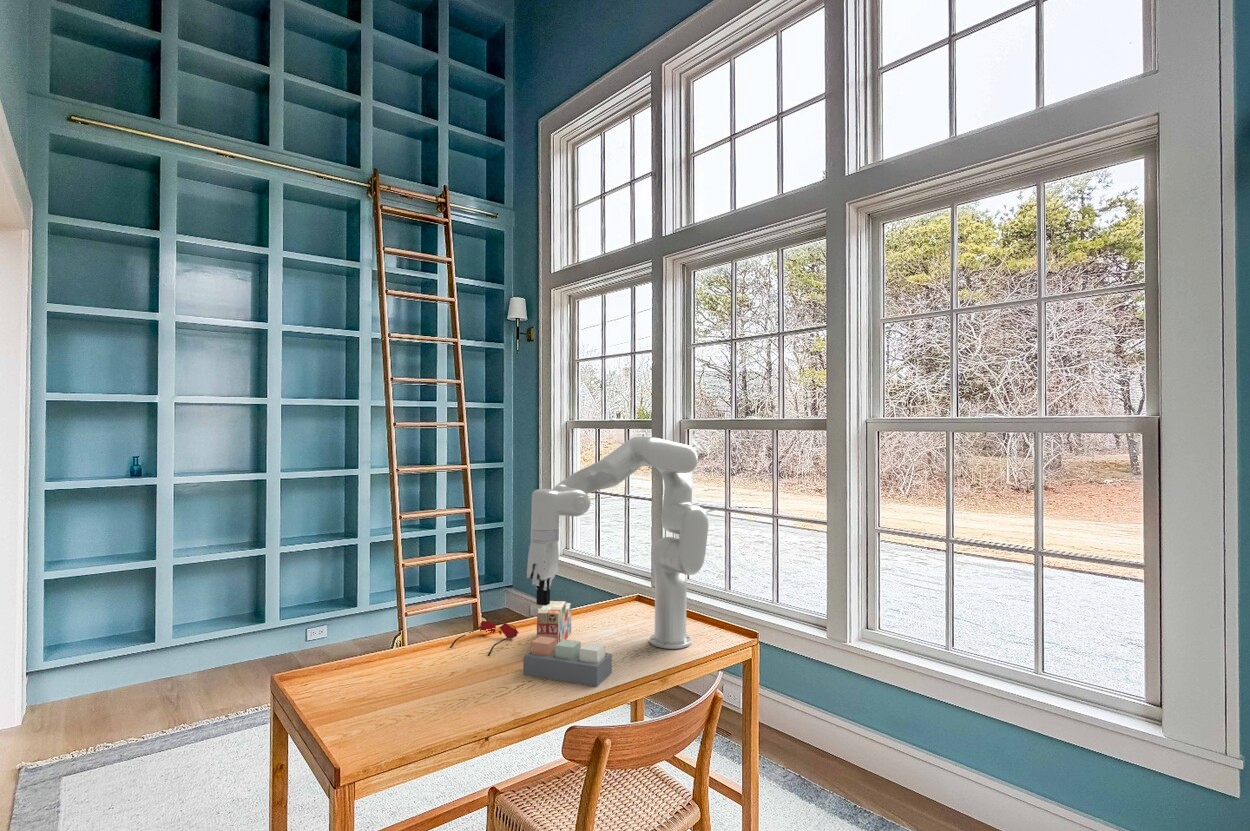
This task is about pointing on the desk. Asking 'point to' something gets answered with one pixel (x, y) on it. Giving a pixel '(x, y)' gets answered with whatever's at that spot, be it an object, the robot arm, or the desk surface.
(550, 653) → the terracotta button
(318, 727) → the desk surface
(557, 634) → the stack of blocks
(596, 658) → the cream button
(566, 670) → the frame
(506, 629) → the glasses
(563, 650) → the sage button
